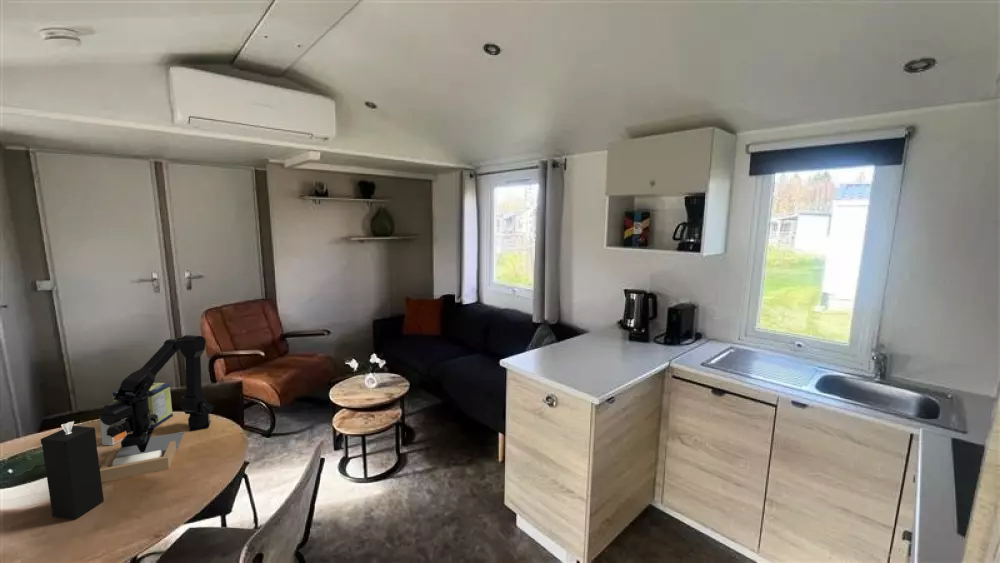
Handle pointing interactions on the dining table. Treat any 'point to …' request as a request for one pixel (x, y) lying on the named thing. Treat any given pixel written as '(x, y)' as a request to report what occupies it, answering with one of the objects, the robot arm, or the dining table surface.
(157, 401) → the protein box
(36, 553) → the dining table surface
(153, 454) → the paper roll
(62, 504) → the tissue box
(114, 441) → the skincare box
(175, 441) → the holder
